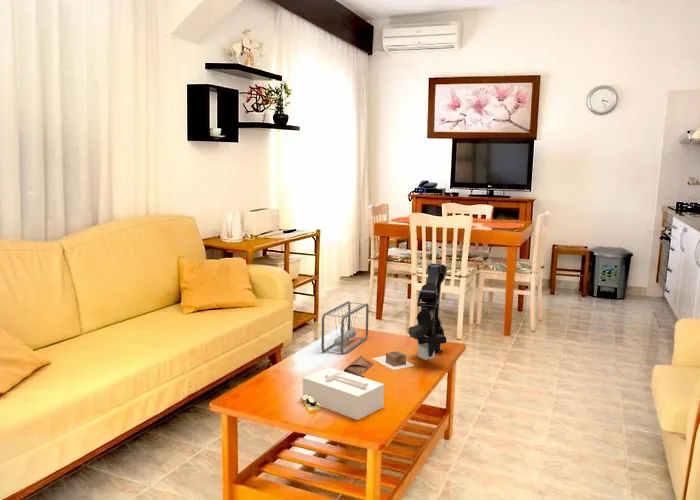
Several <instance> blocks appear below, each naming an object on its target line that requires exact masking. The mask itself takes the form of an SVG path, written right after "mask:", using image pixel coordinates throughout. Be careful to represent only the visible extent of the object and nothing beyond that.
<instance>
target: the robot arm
mask: <svg viewBox="0 0 700 500" xmlns="http://www.w3.org/2000/svg"><path fill="white" fill-rule="evenodd" d="M426 274H428V275H427V279H426V281H425V284H424V285H422V286H421V288H420V290H419V292H418V296H417V297H418V298H417V305H416V307H420V310H419V312H418V313H417V316H416V320H417V324H416V325H413V326H410V327H409V328H408V332H407V333H408V334H409V337H410V338H413V339H414V340H417V343H418V345H420V344H426V343H427V344H428V348H429V357H431V356H432V354H433V353H434V351H435V354H436V353H442V352H443V350H442V349H441V345H443V344H446V343H447V337H446V336H445V331H444V328H443V327H444V326H442V325H443V324H442V321H441V319H440V317H439V316H440V305H441V303H440V302H441V301H440V300H441V289H442V284H443V282H444V281H445V279H446V276H447V275H448V267H447V266H446V265H445V264H443V263H442V264H441V263H434V262H433V263H429V264H427V268H426Z"/></svg>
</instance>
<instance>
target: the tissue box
mask: <svg viewBox="0 0 700 500" xmlns="http://www.w3.org/2000/svg"><path fill="white" fill-rule="evenodd" d="M304 395H308V396H311V397H313V398H314V399H315V400H316V402H317V403H319V404H320V405H321V406H323V407H325V408H324V409H326V408H327V409H326V410H328V409H330V410H329V411H331V410H332V411H331V412H334V411H335V412H334V413H336V412H337V413H336V414H339V413H340V415H342V416H344V417H348V418H350V419H353V420H355V421H359V420H361V419H362V418H365V417H366V416H369V415H370V414H373V413H374V412H377V411H378V410H380V409H382V408H384V405H385V403H384V402H385V401H384V398H385V384H384V383H381V382H379V381H376V380H372V379H369V378H366V377H359V376H356V375H353V374H350V373H347V372H344V370H340V369H336V368H333V367H331V366H330V367H327V368H325V369H322V370H320V371H319V370H318V371H317V372H314V373H311V374H309V375H307V376H304V377H302V397H303V396H304ZM323 407H322V408H323Z"/></svg>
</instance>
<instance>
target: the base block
mask: <svg viewBox="0 0 700 500" xmlns="http://www.w3.org/2000/svg"><path fill="white" fill-rule="evenodd" d="M385 356H386V363H388V364H390V365H392V366H394V367H395V366H400V365H405V364H406V361H407V354H405V353H403V352H401V351H398V350H395V351H390V352H385Z"/></svg>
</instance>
